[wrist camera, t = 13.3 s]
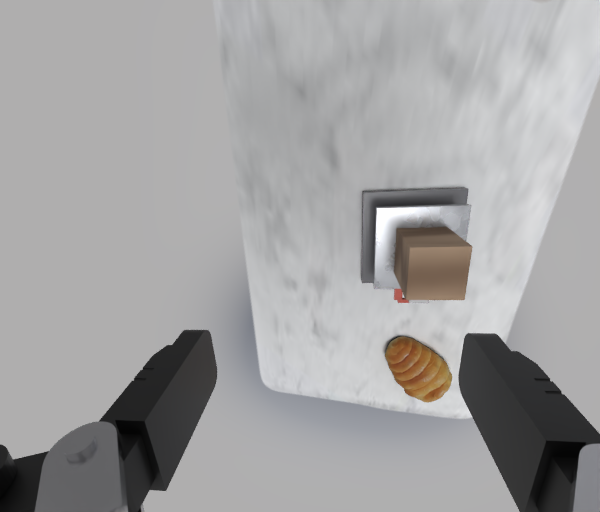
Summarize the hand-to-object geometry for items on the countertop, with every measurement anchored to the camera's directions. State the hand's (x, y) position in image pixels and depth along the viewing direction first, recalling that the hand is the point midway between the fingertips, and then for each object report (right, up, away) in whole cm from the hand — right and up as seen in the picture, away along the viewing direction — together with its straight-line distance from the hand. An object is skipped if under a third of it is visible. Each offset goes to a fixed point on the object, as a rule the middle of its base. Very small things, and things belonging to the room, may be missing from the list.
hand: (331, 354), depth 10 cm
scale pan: (+12, +4, +25) cm, 28 cm away
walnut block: (+12, +4, +23) cm, 26 cm away
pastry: (+15, -12, +34) cm, 39 cm away
